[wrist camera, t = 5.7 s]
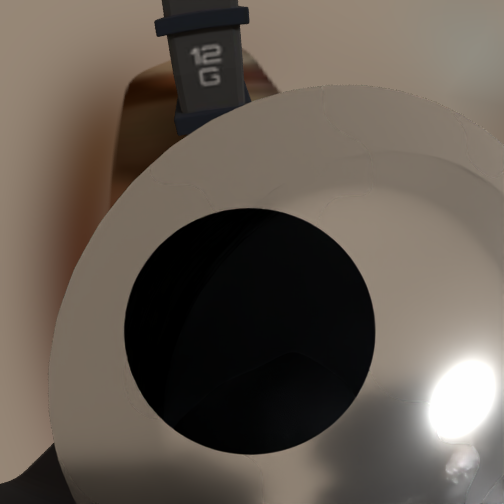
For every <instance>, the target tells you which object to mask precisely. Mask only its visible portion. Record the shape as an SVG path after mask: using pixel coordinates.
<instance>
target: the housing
mask: <svg viewBox="0 0 504 504" xmlns="http://www.w3.org/2000/svg"><path fill="white" fill-rule="evenodd" d="M48 375H49V376H48V392H49V393H48V394H49V395H48V397H49V416H50V422H51V429H52V434H53V439H54V444H55V448H56V453H57V457H58V460H59V463H60V466H61V469H62V471H63V474H64V477H65V479H66V482H67V484H68V487H69V489H70V491H71V494H72V496H73V498H74V500H75V502H76V503H77V504H504V145H503V144H502V143H501V142H499V140H497V139H496V138H495V137H494V136H493V135H491V134H490V133H489V132H487V131H486V130H485V129H483V128H482V127H480V126H479V125H477V124H476V123H474V122H473V121H471V120H470V119H468V118H466V117H465V116H463V115H461V114H460V113H458V112H456V111H453V110H451V109H449V108H447V107H445V106H443V105H441V104H439V103H436V102H434V101H432V100H429V99H426V98H423V97H419V96H416V95H413V94H409V93H406V92H403V91H398V90H392V89H387V88H380V87H373V86H365V85H327V86H318V87H311V88H303V89H296V90H291V91H287V92H283V93H280V94H276V95H272V96H269V97H266V98H262V99H259V100H256V101H252V102H250V103H248V104H246V105H243V106H241V107H239V108H237V109H234V110H232V111H230V112H228V113H226V114H224V115H221V116H219V117H217V118H215V119H213V120H211V121H210V122H208V123H206V124H205V125H203V126H202V127H200V128H198V129H197V130H195V131H194V132H192V133H191V134H189V135H188V136H186V137H185V138H183V139H182V140H180V141H179V142H177V143H176V144H174V145H173V146H172V147H170V148H169V149H168V150H167V151H166V152H165V153H163V154H162V155H161V156H160V157H159V158H158V159H157V160H156V161H154V162H153V163H152V164H151V165H150V166H149V167H148V168H147V169H146V170H145V171H144V172H142V173H141V174H140V175H139V176H138V177H137V178H136V179H135V180H134V181H133V182H132V183H131V185H130V186H129V187H128V188H127V189H126V191H125V192H124V193H123V194H122V195H121V197H120V198H119V199H118V200H117V202H116V203H115V204H114V205H113V207H112V208H111V209H110V210H109V212H108V213H107V214H106V216H105V217H104V218H103V220H102V221H101V222H100V224H99V226H98V227H97V229H96V231H95V232H94V234H93V236H92V237H91V239H90V241H89V243H88V245H87V246H86V248H85V250H84V252H83V253H82V255H81V257H80V259H79V261H78V263H77V265H76V267H75V268H74V271H73V274H72V276H71V279H70V281H69V284H68V287H67V290H66V292H65V295H64V298H63V301H62V304H61V307H60V310H59V313H58V316H57V320H56V325H55V330H54V336H53V341H52V347H51V354H50V360H49V372H48Z"/></svg>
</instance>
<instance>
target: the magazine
mask: <svg viewBox="0 0 504 504" xmlns="http://www.w3.org/2000/svg"><path fill="white" fill-rule="evenodd" d="M162 5H163V12H164V17H163V18H161V19H157V20H155V22H154V23H155V29H156V35H157V37H160V36H165V35H167V39H168V45H169V51H170V57H171V63H172V68H173V74H174V79H175V84H176V89H177V93H178V99H177V105H176V112H175V118H174V122H175V126H176V130H177V134H178V135H179V136H180V135H186V134H187V136H188V135H189V134H191V133H192V132H194V131H195V130H197V129H198V128H200V127H202V126H203V125H205V124H206V123H208V122H210V121H211V120H213V119H215V118H217V117H219V116H221V115H224V114H226V113H228V112H230V111H232V110H234V109H237V108H239V107H241V106H243V105H246V104H248V103H250V102H251V99H250V96H249V93H248V90H247V87H246V84H245V82H244V75H243V59H242V46H241V34H240V25H241V24H249V9H248V7H241V6H238V0H162Z"/></svg>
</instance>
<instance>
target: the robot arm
mask: <svg viewBox="0 0 504 504" xmlns="http://www.w3.org/2000/svg"><path fill="white" fill-rule="evenodd" d="M0 504H77V503H76V502H75V500H74V498H73V496H72V494H71V491H70V489H69V487H68V484H67V482H66V479H65V477H64V474H63V471H62V469H61V466H60V463H59V460H58V457H57V453H56V448H55V444H54V443H53V444H52V445H51V446H50V447H49V448H48V449H47V450H46V451H45V452H44V453H43V454H42V455H41V456H40V457H39V458H38V459H37V460H36V461H35V462H34V463H33V464H32V465H31V466H30V467H29V468H28V469H27V470H26V471H24V472H23V473H22V474H21V475H20V476H18V477H17V478H15V479H13V480H11V481H8V482H5V483H2V484H0Z"/></svg>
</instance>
